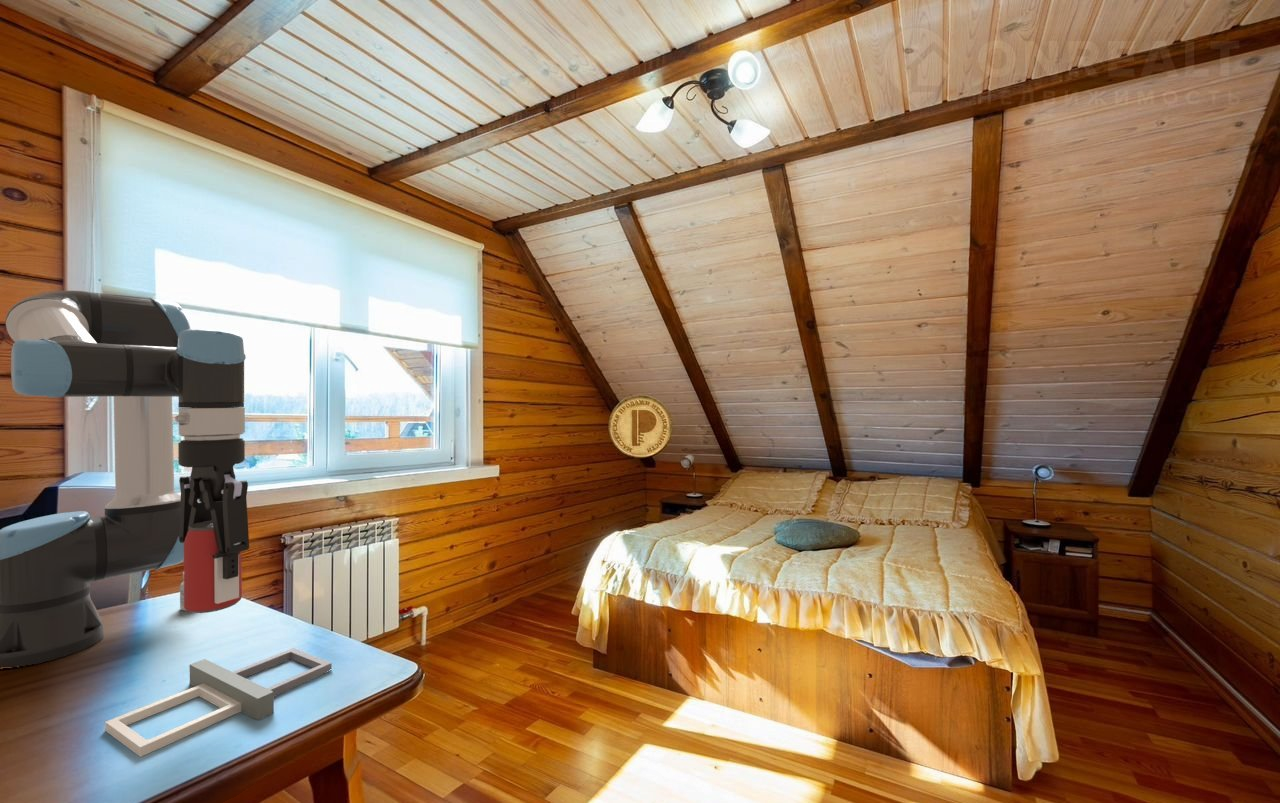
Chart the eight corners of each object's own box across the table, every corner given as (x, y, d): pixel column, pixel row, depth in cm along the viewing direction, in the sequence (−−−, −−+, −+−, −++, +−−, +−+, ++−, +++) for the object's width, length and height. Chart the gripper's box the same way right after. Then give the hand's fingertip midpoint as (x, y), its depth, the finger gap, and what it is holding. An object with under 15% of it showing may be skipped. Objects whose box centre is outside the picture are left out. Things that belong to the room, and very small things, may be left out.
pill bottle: (208, 601, 117) (207, 566, 117) (205, 608, 114) (205, 571, 114) (182, 605, 115) (181, 570, 115) (178, 612, 111) (178, 575, 111)
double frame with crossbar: (92, 721, 74) (92, 699, 74) (279, 649, 95) (279, 632, 95) (156, 768, 64) (156, 743, 64) (348, 677, 85) (348, 658, 85)
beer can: (211, 616, 74) (210, 530, 74) (171, 613, 75) (171, 528, 75) (253, 598, 81) (252, 519, 80) (216, 596, 82) (215, 517, 82)
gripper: (147, 436, 79) (148, 593, 79) (218, 442, 70) (219, 617, 70) (207, 433, 85) (208, 577, 86) (279, 438, 77) (280, 598, 77)
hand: (213, 595), depth 78 cm, fingers closed on beer can, 7 cm apart
